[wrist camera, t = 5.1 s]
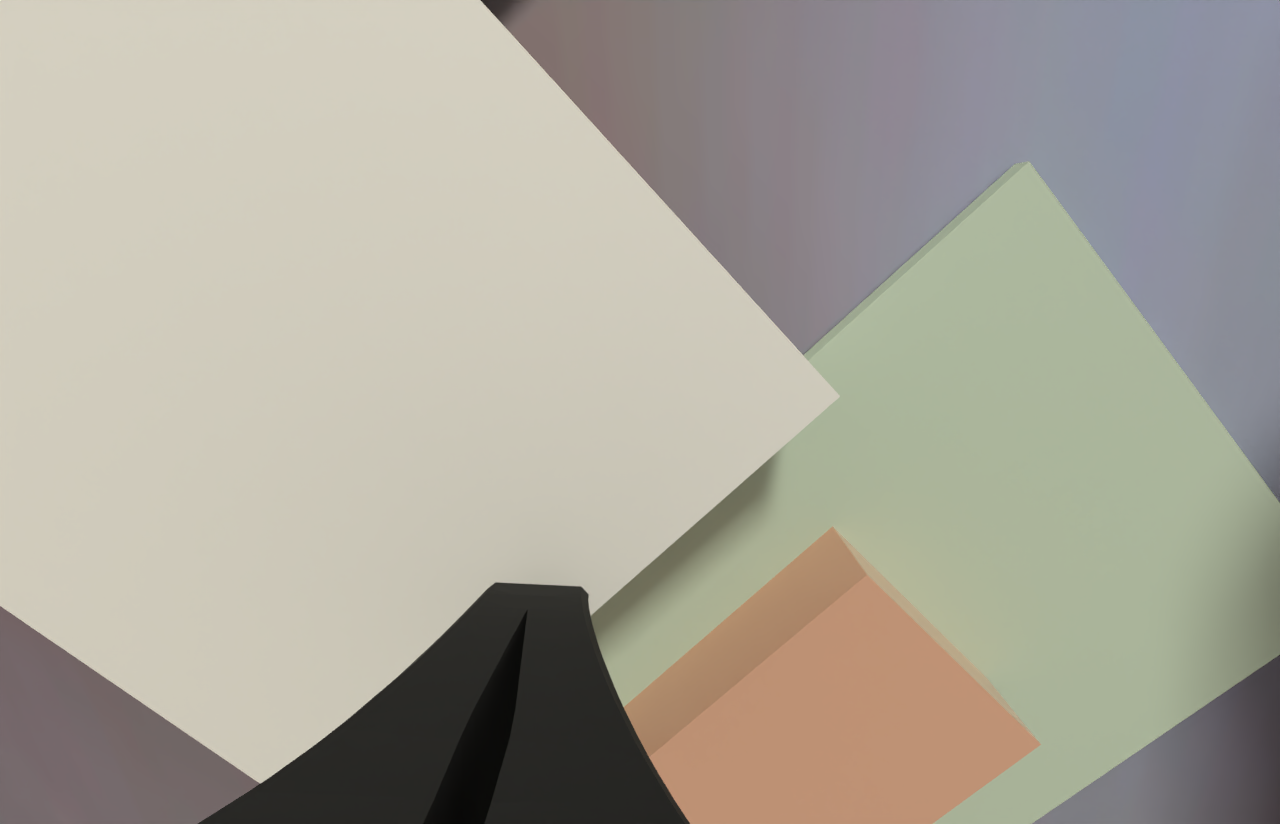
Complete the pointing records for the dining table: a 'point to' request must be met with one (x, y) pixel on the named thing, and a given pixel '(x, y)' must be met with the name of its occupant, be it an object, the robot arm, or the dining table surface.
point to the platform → (337, 350)
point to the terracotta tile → (826, 707)
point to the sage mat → (1005, 501)
